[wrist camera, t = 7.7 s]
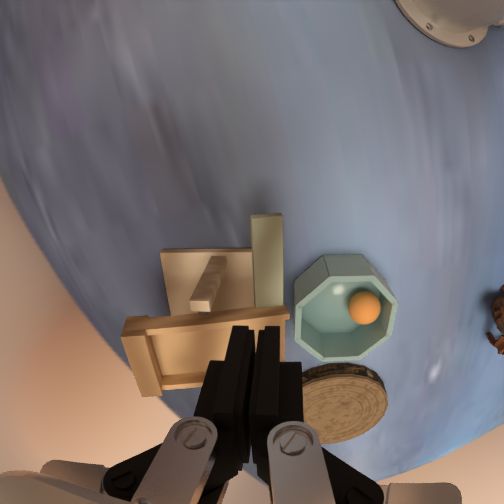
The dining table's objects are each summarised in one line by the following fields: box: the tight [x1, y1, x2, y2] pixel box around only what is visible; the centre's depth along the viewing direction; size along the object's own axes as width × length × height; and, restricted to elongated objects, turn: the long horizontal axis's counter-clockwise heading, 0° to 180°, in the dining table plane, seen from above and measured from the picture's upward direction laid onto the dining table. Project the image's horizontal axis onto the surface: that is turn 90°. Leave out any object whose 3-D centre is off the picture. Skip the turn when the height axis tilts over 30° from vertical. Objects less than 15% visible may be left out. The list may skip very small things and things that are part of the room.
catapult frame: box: [160, 248, 255, 316], centre depth 31 cm, size 13×12×10 cm
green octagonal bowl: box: [293, 255, 398, 362], centre depth 33 cm, size 10×10×5 cm
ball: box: [348, 291, 381, 324], centre depth 32 cm, size 4×4×4 cm
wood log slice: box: [302, 363, 388, 444], centre depth 40 cm, size 16×16×3 cm
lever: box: [121, 213, 290, 397], centre depth 26 cm, size 14×16×3 cm
